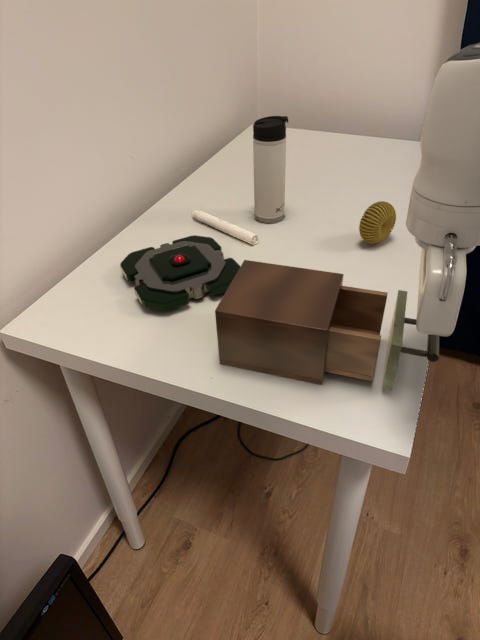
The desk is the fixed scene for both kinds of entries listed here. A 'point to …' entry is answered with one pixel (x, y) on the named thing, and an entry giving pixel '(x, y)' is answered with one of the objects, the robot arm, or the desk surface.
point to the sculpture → (377, 222)
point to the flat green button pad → (179, 272)
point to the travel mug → (269, 168)
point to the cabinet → (277, 320)
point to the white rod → (225, 227)
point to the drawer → (369, 335)
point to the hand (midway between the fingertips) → (427, 315)
